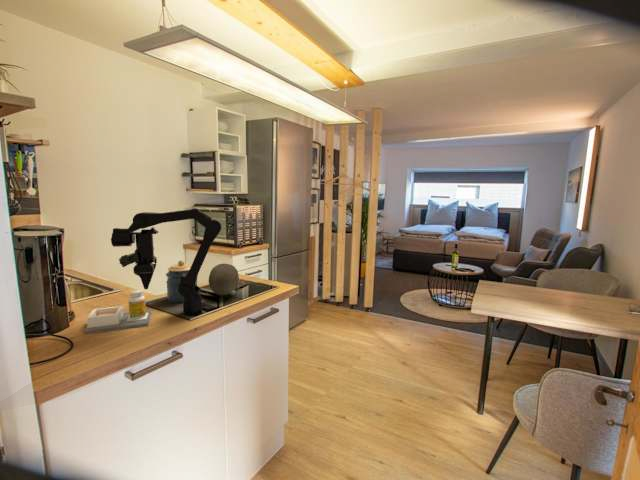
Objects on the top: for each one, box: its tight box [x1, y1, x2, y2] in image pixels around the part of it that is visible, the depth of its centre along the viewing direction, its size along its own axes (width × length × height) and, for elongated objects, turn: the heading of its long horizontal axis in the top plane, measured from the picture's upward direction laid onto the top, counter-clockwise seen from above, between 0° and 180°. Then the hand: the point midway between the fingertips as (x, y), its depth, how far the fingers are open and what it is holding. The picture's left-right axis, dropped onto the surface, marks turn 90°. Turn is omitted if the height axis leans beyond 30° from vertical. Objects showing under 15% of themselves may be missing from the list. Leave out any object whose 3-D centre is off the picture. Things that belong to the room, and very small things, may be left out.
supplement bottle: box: [128, 289, 147, 319], centre depth 120 cm, size 5×5×10 cm
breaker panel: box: [84, 305, 153, 334], centre depth 119 cm, size 19×14×5 cm
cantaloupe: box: [208, 263, 240, 296], centre depth 151 cm, size 14×14×15 cm
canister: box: [165, 259, 198, 303], centre depth 145 cm, size 13×13×18 cm
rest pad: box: [127, 313, 148, 322], centre depth 121 cm, size 6×6×1 cm
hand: (147, 285), depth 124 cm, fingers open, 9 cm apart
